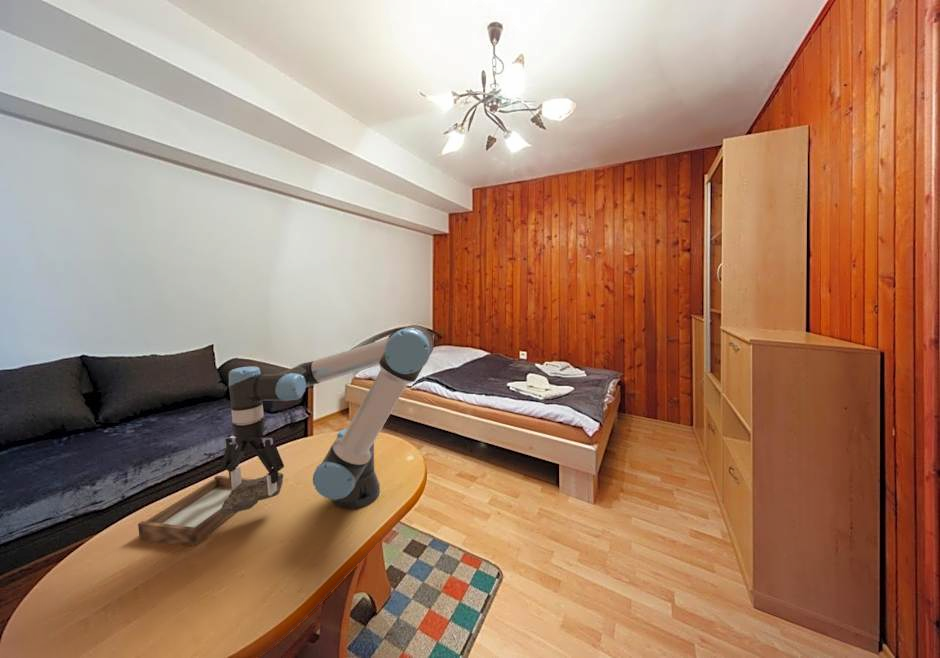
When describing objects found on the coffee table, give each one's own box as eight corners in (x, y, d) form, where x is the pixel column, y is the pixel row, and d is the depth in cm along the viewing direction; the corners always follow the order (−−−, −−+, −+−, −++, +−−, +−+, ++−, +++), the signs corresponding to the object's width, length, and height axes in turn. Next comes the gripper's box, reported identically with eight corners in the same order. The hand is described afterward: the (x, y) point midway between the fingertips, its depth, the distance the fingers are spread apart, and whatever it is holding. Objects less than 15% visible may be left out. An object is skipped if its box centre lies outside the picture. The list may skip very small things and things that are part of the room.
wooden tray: (262, 493, 110) (261, 479, 110) (193, 546, 87) (192, 530, 86) (217, 488, 112) (217, 475, 112) (139, 539, 89) (138, 523, 88)
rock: (276, 468, 106) (290, 469, 100) (279, 489, 105) (293, 491, 99) (211, 492, 92) (223, 495, 86) (215, 516, 91) (227, 521, 85)
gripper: (294, 416, 95) (299, 486, 98) (224, 414, 98) (230, 481, 101) (276, 427, 88) (282, 502, 90) (200, 423, 91) (208, 496, 93)
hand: (254, 491), depth 95 cm, fingers closed on rock, 11 cm apart
